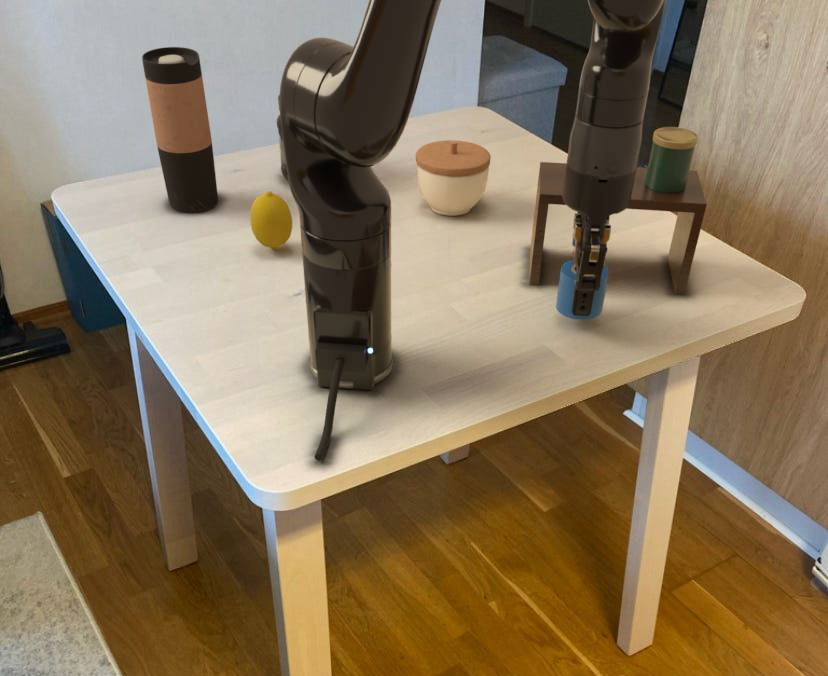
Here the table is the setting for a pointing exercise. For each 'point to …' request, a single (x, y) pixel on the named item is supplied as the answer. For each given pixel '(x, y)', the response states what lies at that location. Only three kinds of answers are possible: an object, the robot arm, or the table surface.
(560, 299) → the tape roll
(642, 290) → the table surface
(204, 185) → the travel mug
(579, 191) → the robot arm
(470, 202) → the trinket box
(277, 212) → the lemon
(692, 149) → the tea tin
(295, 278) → the table surface
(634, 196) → the shelf
